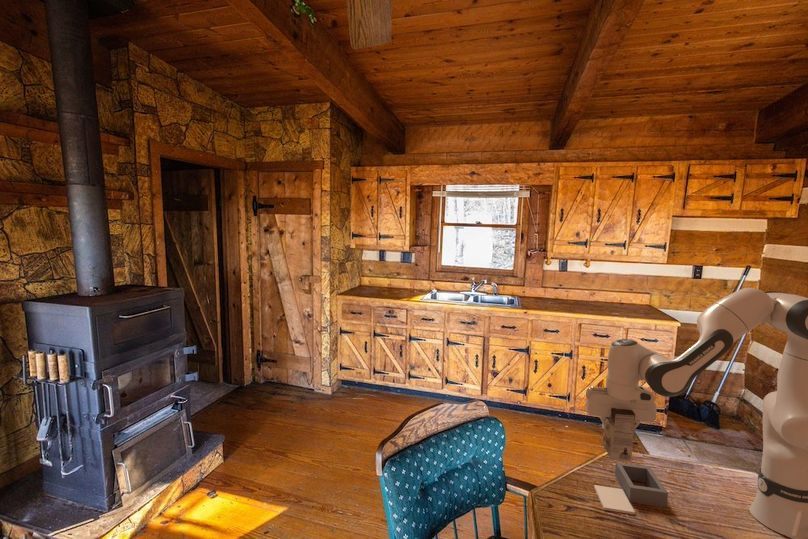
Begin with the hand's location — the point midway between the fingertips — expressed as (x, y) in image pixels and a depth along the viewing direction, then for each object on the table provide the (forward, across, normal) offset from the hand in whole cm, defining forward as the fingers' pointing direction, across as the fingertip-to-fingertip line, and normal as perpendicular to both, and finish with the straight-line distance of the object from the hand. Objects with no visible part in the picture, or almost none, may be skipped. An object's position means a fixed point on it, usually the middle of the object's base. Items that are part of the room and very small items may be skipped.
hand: (618, 430), depth 121 cm
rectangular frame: (+24, +10, +8) cm, 28 cm away
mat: (+24, 0, 0) cm, 24 cm away
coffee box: (+8, 0, 0) cm, 8 cm away
